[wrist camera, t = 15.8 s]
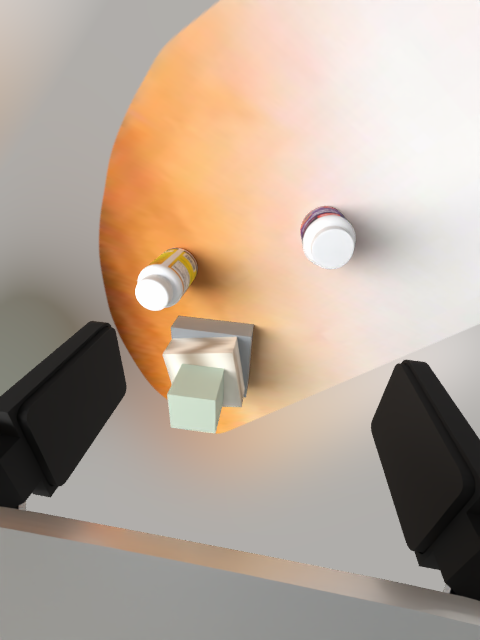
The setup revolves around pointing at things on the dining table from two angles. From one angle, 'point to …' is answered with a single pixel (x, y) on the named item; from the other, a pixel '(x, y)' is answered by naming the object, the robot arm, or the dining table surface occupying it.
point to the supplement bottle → (166, 279)
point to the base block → (217, 328)
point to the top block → (209, 362)
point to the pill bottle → (327, 237)
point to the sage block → (196, 398)
